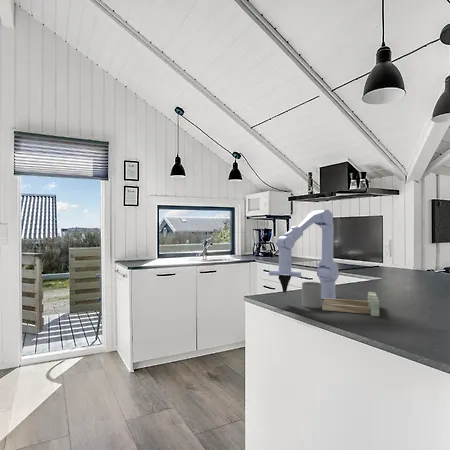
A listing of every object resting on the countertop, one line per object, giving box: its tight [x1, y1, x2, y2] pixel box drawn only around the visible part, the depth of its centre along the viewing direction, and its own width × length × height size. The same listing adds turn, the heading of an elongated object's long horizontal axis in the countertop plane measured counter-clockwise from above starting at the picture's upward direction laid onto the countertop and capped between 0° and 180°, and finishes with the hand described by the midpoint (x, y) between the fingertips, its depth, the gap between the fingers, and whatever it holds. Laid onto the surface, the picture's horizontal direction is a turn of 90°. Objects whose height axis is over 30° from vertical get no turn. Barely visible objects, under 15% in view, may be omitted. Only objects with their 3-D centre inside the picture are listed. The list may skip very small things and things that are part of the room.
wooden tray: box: [321, 291, 380, 317], centre depth 152 cm, size 20×22×6 cm
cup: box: [301, 281, 322, 309], centre depth 157 cm, size 8×8×10 cm
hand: (284, 291), depth 161 cm, fingers closed
